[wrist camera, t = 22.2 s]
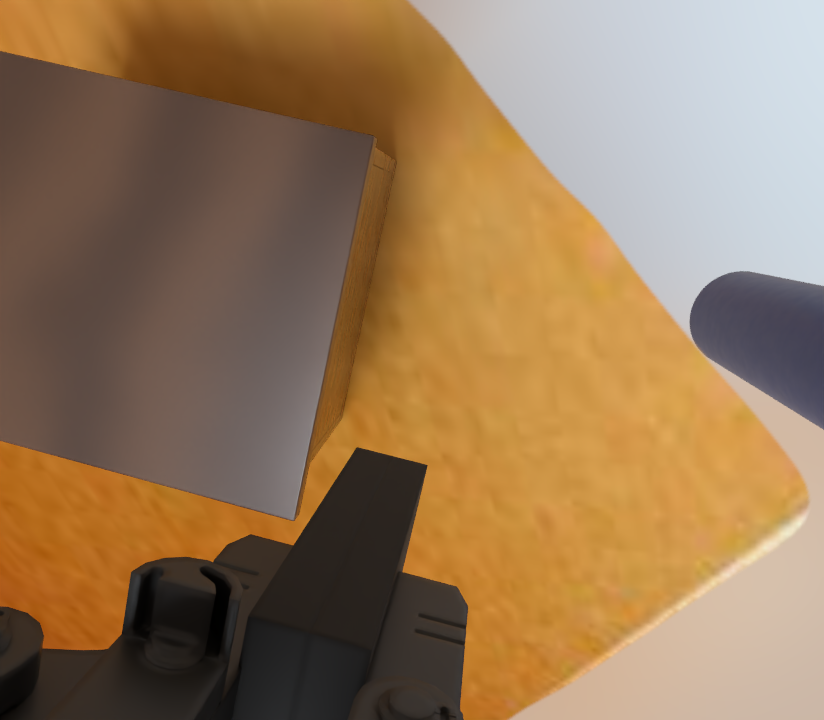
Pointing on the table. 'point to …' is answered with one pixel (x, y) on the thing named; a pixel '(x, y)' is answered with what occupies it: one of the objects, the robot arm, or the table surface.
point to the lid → (170, 280)
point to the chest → (355, 296)
